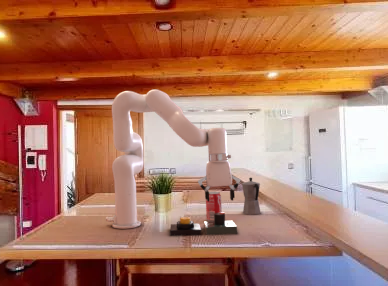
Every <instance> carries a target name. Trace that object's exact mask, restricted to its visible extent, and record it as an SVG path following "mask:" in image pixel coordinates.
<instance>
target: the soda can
mask: <svg viewBox="0 0 388 286" xmlns="http://www.w3.org/2000/svg"><path fill="white" fill-rule="evenodd" d="M214 213H223V210H222V195H221V192H220V191H209V202H208V201H207V199H205V214H206V221H214Z"/></svg>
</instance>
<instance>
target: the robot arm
mask: <svg viewBox="0 0 388 286" xmlns="http://www.w3.org/2000/svg"><path fill="white" fill-rule="evenodd" d="M130 112H134V113H156V114H157V115H158V116H159V117H160V118H161V119H162V120H163V121H164V122H165V123H166V124H167V125H169V127H170V128H171V130H172V131H173V132H174V134H176V135H177V137H179V138H180V139H181V140H183V141H184V142H185V143H186V144H187V145H189V146H191V147H193V148H198V147H199V148H203V147H206V146H207V149H208V150H207V151H208V161H207V162H206V168H205V176H204V177H201V178H200V179H198V180H197V183H198V185H199V186H200V189H202V190H203V191H204V198H205V200H206V199H207V201H208V202H209V192H210V191H209V190H210V188H215V187H229V188H230V190H229V199H230V201H234V199H235V190H237V188H238V187H239V184H240V182H241V178H240V177H237V176H235V175H233V174H232V169H231V164H230V161H229V159H231V158H232V155H231V154H228V146H227V145H228V144H227V143H228V142H227V140H228V139H227V130H226V128H224V127H212V128H211V127H210V128H209V129H207V128H206V129H205V128H204V129H203V128H199V127H198V126H196V125H195V124H194V123H192V122H191V120H190V119H188V117H186V116H185V114H184V112H183V109H182V108H181V107H180V106H178V105H177V104H176V103H175V102H174V101H173V100H172V99H171V97H170V96H169V94H167V93H166V92H164V91H162V90H160V89H151V90H149V91H148V92H146V94H141V93H138V92H136V91H132V90H125V91H122V92H119V93H118V94H117V95H116V96H115V97H114V99H113V101H112V105H111V118H112V133H113V135H112V136H113V146H114V148H115V150H116V151H117V152H120V153H124V154H122V155H118V156H117V157H115V159H114V160H113V162H112V164H111V167H112V168H111V170H112V174H113V181H114V182H113V183H114V211H115V215H112V216H106V217H105V222H107V223H110V222H111V226H112V228H114V229H121V230H122V229H123V230H125V229H128V230H129V229H134V228H138V227H139V226H141V220H138V207H137V205H138V204H137V183H136V178H135V175H137V174H139V173H141V172H142V171H143V168H144V144H143V140H142V137H141V135H140V134H139V133H137V132H135V131H134V130H133V120H132V117H131V113H130ZM233 180H234V181H235V183H234V184H233ZM203 182H206V186H205V185H204V184H203Z"/></svg>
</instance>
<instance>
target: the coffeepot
mask: <svg viewBox="0 0 388 286" xmlns="http://www.w3.org/2000/svg"><path fill="white" fill-rule="evenodd" d="M248 179H249V180H248V181H245V182H242V183H241V187H242V192H243V197H244V201H243V210H242V214H244V215H247V216H256V215H261V209H260V202H259V195H260V186H261V183H260V182H257V181H253V177H249V178H248Z"/></svg>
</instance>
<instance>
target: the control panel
mask: <svg viewBox="0 0 388 286" xmlns="http://www.w3.org/2000/svg"><path fill="white" fill-rule="evenodd" d="M203 230H204V232H205V235H207V236H209V235H211V236H214V235H238V226H237V224H236V223H235V222H234V221H233V220H225V224H224V225H216V224H214V221H208V220H206V221H203Z"/></svg>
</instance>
